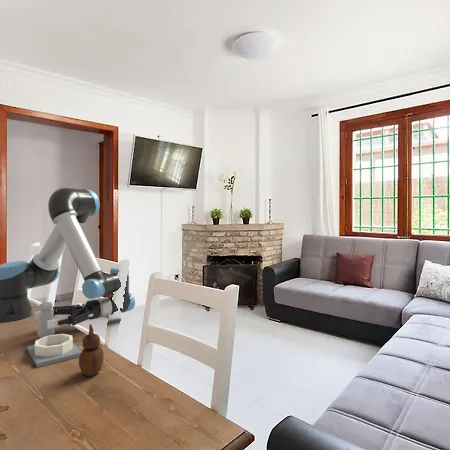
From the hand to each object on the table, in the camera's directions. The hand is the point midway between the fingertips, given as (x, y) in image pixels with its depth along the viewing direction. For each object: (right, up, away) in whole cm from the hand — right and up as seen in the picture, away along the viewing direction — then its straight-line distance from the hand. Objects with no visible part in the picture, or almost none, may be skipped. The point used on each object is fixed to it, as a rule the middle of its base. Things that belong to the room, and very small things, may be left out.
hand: (40, 320), depth 123 cm
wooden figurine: (+28, -9, -24) cm, 38 cm away
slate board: (+10, -8, -11) cm, 17 cm away
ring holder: (+10, -7, -11) cm, 16 cm away
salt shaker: (+1, -7, +2) cm, 8 cm away
